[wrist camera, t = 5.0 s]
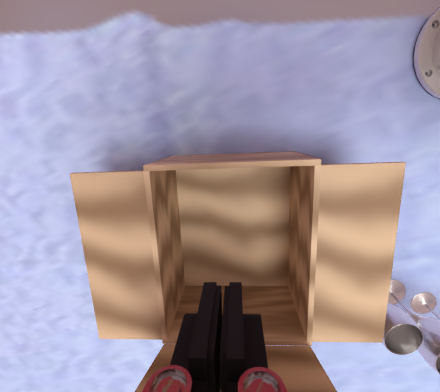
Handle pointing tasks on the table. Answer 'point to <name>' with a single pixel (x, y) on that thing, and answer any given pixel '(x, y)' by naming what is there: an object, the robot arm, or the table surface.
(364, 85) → the table surface
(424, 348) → the goblet set
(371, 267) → the carton
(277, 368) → the lid flap
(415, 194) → the table surface
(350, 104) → the table surface
